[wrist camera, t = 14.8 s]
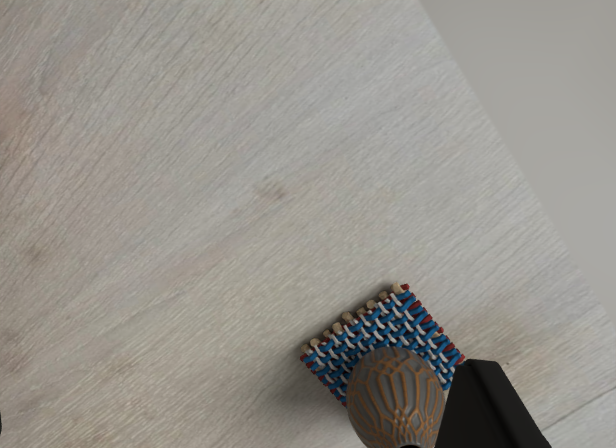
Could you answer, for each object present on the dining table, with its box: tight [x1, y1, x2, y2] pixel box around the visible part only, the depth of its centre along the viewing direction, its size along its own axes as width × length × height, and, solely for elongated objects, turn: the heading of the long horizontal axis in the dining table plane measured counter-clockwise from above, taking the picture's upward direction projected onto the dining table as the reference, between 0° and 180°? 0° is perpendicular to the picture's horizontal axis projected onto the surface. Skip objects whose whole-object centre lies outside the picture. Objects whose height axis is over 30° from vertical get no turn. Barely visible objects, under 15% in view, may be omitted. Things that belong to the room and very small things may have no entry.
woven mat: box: [300, 282, 465, 408], centre depth 40 cm, size 10×11×2 cm
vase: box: [346, 346, 446, 448], centre depth 34 cm, size 7×7×9 cm
